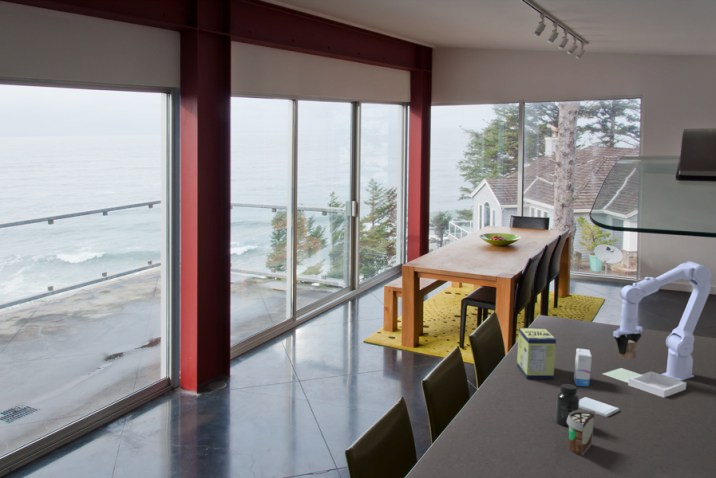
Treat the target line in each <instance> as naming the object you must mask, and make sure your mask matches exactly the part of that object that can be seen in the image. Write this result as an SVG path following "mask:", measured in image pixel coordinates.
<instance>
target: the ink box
mask: <svg viewBox="0 0 716 478" xmlns="http://www.w3.org/2000/svg"><path fill="white" fill-rule="evenodd" d="M591 353H592V352H591V351H590V349H587V348H586V349H585V348H580V347H579V348H576V350H575V361H574V372H573V380H574V383H575V384H574V385H575V386H576V387H577V386H578V387H587V388H588V387H590V380H591V372H592V371H591V370H592V357H593V356H592V354H591Z"/></svg>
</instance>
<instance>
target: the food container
mask: <svg viewBox="0 0 716 478" xmlns="http://www.w3.org/2000/svg"><path fill="white" fill-rule="evenodd" d="M595 418H596V413H595V411H590V410H584V409H579V410H576V411H572V412H571V413H570V414H569V415H568V418H567V424H568V425H569V426H568V448H569V450H570V451H571V452H572V453H574V454H576V455H578V456H584V454H585V453H586V451H588V449H589V448H590V447H591V445H592V443H593V435H594V434H593V433H594V425H595V423H594V422H595Z"/></svg>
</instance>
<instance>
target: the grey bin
mask: <svg viewBox="0 0 716 478" xmlns="http://www.w3.org/2000/svg"><path fill="white" fill-rule="evenodd" d="M627 384H628V386H629V387H632V388H635V389H638V390H641V391H643V392H646V393H649V394H653V395H655V396H658V397H661V398H666V397H670V396H672V395H674V394H677V393H680V392H683V391H685V390H687V381H686V382H685V381H684V380H677V379H674V378H671V377H668V376H664V375H662V373H661V374H660V373H657V372H654V371H648V372H645V373H641V375H638V376H635V377H632V378H629V382H628V383H627Z"/></svg>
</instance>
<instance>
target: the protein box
mask: <svg viewBox="0 0 716 478" xmlns="http://www.w3.org/2000/svg"><path fill="white" fill-rule="evenodd" d="M556 345H557V339H556V337H555V336H553V334H552V333H550V332H549V331H548V330H547V329H546V328H545V327H518V339H517V357H516V358H517V359H516V367H518V369H519V370H520V372H521V373H522V375H523V376H524V377H525V379H527V380H554V377H555V362H556V347H557V346H556Z"/></svg>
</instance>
